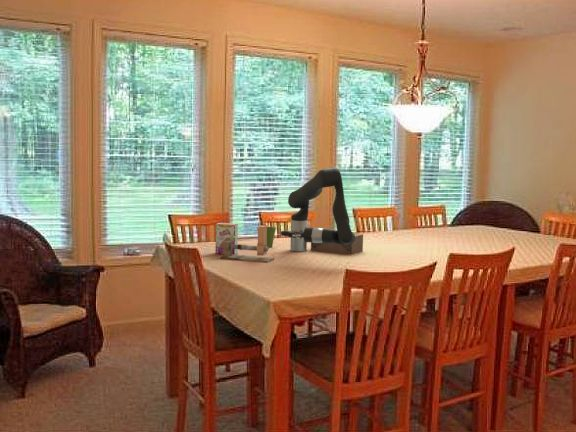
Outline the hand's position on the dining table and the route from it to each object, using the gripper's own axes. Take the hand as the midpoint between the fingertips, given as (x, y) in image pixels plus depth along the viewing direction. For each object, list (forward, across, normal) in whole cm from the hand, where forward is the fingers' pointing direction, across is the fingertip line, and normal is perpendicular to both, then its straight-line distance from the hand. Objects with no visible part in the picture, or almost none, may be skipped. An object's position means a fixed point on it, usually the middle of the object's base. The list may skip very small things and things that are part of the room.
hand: (281, 233), depth 316 cm
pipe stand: (+18, 0, +14) cm, 23 cm away
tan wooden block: (+10, 0, +12) cm, 16 cm away
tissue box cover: (-18, -47, +15) cm, 52 cm away
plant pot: (+23, -42, +14) cm, 50 cm away
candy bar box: (+34, -10, +15) cm, 39 cm away
